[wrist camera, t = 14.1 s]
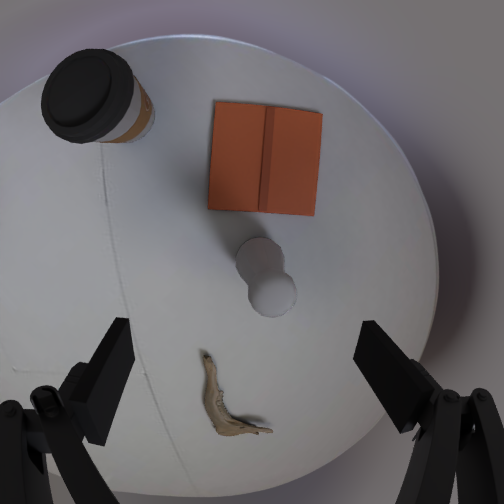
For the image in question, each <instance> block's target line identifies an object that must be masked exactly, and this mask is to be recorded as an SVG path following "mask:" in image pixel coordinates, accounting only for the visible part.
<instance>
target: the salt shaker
mask: <svg viewBox="0 0 504 504" xmlns="http://www.w3.org/2000/svg"><path fill="white" fill-rule="evenodd" d="M236 268H237V270H238V272H239V274H240V276H241V278H242V279H243V280H244V281H245V282H246V283H247V285H248V299H249V301H250V303H251V305H252V307H253V308H254V310H255V311H256V312H258V313H259V314H261V315H262V316H266V317H272V318H273V317H277V316H281V315H284V314H285V313H286V312H288V311H289V310H290V309H291V308H292V306H293V305H294V303H295V302H296V295H297V289H296V286H295V284H294V281H293V279H292V278H291V277H290V276H289V275H288V274H287V273H285V266H284V254H283V252H282V249H281V247H280V246H279V245H278V244H276V243H275V242H274V241H273V240H271V239H267V238H263V237H258V238H254V239H250V240H248V241H247V242H246V243H244V244H243V245H242V246H241V247H240V249H239V251H238V253H237V255H236Z"/></svg>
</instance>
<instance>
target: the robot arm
mask: <svg viewBox="0 0 504 504" xmlns="http://www.w3.org/2000/svg"><path fill="white" fill-rule="evenodd" d="M353 360H354V361H355V363H356V365H357V366H358V368H359V369H360V371H361V372H362V374H363V375H364V377H365V379H366V380H367V382H368V383H369V385H370V386H371V388H372V390H373V391H374V393H375V394H376V396H377V397H378V399H379V401H380V402H381V404H382V405H383V407H384V409H385V410H386V412H387V413H388V415H389V417H390V418H391V420H392V421H393V423H394V425H395V426H396V428H397V429H398V431H399V433H400V434H401V433H404V432H408V431H411V430H413V428H414V427H415V425H416V423H417V422H418V423H419V424H420V426H421V427H420V428H419V430H418V432H417V433H416V435H415V436H414V438H413V440H412V441H414V440H415V439H416V441H415V445H414V448H413V453H412V456H411V459H410V462H409V466H408V469H407V473H406V475H405V478H404V481H403V484H402V487H401V490H400V493H399V495H398V498H397V501H396V503H395V504H449V503H450V498H451V494H452V488H453V483H454V478H455V472H456V477H457V489H458V502H459V503H458V504H504V428H503V425H502V422H501V419H500V416H499V413H498V411H497V408H496V405H495V403H494V400H493V398H492V396H491V394H490V393H489V392H488V391H487V390H485V389H482V388H476V389H474V390H473V392H472V393H471V395H470V396H466V397H460V395H459V394H458V393H457V392H455V391H453V390H449V389H445V390H443V389H442V388H441V386H440V385H439V384H438V383H437V382H436V381H435V380H434V378H433V377H432V376H431V375H429V373H428V372H427V371H425V368H424V367H423V366H422V365H421V364H420V363H418V362H417V361H415V360H414V359H409V358H408V357H407V356H406V355H405V354H404V353H403V352H402V350H401V349H400V348H399V347H398V346H397V345H396V344H395V343H394V342H393V340H392V339H391V338H390V337H389V336H388V335H387V334H386V333H385V332H384V331H383V329H382V328H381V327H380V326H379V325H378V324H377V323H376V322H375V321H374V320H370V321H363V323H362V327H361V331H360V335H359V339H358V342H357V346H356V350H355V353H354V357H353ZM134 361H135V356H134V350H133V343H132V337H131V330H130V323H129V318H118V317H116V318H115V320H114V321H113V323H112V325H111V326H110V328H109V329H108V331H107V333H106V334H105V336H104V338H103V339H102V341H101V343H100V344H99V346H98V348H97V349H96V351H95V353H94V354H93V356H92V358H91V360H90V361H89V363H83V362H79V363H77V364H76V365H75V366H73V367H72V368H71V370H70V372H69V373H68V376H67V377H66V378H65V381H63V383H62V385H61V387H60V388H59V390H58V391H57V389H56V388H54V387H52V386H48V385H45V386H40V387H38V388H36V389H35V390H33V391H32V393H31V395H30V401H31V403H32V405H33V407H34V409H23V408H22V406H21V405H20V403H19V402H17V401H15V400H7V401H4V402H3V403H1V404H0V504H53V500H52V495H51V490H50V484H49V477H48V470H47V463H46V454H45V453H52V456H53V458H54V460H55V463H56V465H57V467H58V470H59V472H60V474H61V476H62V478H63V480H64V482H65V484H66V486H67V488H68V490H69V492H70V494H71V496H72V498H73V500H74V502H75V503H76V504H120V503H119V502H118V501H117V499H116V497H115V496H114V494H113V493H112V492H111V490H110V489H109V487H108V486H107V484H106V482H105V481H104V479H103V478H102V476H101V474H100V473H99V471H98V470H97V468H96V466H95V464H94V463H93V461H92V459H91V458H90V456H89V454H88V452H87V450H86V448H85V447H84V445H83V443H82V441H83V438H84V436H85V437H86V439H87V441H88V443H91V444H96V445H100V446H105V443H106V440H107V437H108V434H109V431H110V428H111V425H112V422H113V419H114V416H115V413H116V410H117V407H118V404H119V401H120V399H121V396H122V393H123V390H124V387H125V385H126V382H127V379H128V377H129V374H130V371H131V369H132V366H133V363H134ZM474 428H475V430H474Z"/></svg>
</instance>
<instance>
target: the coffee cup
mask: <svg viewBox="0 0 504 504" xmlns="http://www.w3.org/2000/svg"><path fill="white" fill-rule="evenodd" d="M41 110H42V116H43V118H44V120H45V122H46V124H47V125H48V126H49V128H50V129H51V130H52V132H53V133H54V134H55V135H56V136H58V137H60V138H62V139H64V140H66V141H69V142H72V143H79V144H83V143H89V142H101V143H130V142H135V141H137V140H140V139H141V138H142V137H144V136H145V135H146V134H147V133H148V132H149V131H150V129H151V127H152V125H153V123H154V119H155V109H154V106H153V104H152V102H151V100H150V98H149V96H148V95H147V93H146V92H145V90H144V89H143V87H142V86H141V84H140V83H139V82H138V80H137V79H136V77H135V76H134V75H133V73H132V70H131V68H130V67H129V65H128V63H127V62H126V61H125V60H124V59H122V58H121V57H120V56H119V55H116V54H115V53H114V52H111V51H108V50H105V49H85V50H81V51H78V52H76V53H74V54H72V55H71V56H68V57H67V58H65V59H64V60H63V61H62V62H61V63H60V64H58V65H57V67H56V68H55V69H54V71H53V72H52V73H51V74H50V76H49V78H48V80H47V82H46V84H45V86H44V90H43V93H42V99H41Z"/></svg>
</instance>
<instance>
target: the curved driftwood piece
mask: <svg viewBox="0 0 504 504" xmlns="http://www.w3.org/2000/svg"><path fill="white" fill-rule="evenodd" d="M203 358H204V365H205V368H206V371H207V376H208V380H207V388H206V393H205V408H206V411H207V413H208V416H209V417H210V419H211V421H212V422H213V424H214V425H215V427H216V432H217V433H218V434H219V435H223V436H235V435H239V434H243V433H253V434H256V435H259V433H258V432H265V433H273V430H272V429H269V428H263V427H256V426H251V425H248V424H245V423H242V422H240V421H238V420H234V419H232V418H231V416H230V415H229V413H227V410H225V409H226V408H224V407H225V406H224V403H223V402H222V401H223V400H222V398H223V395H222V394H223V391H219V390H218V385H217V376H216V367H215V365H214V363H213V362H212V359H211V356H206V357H205V355H204V356H203Z"/></svg>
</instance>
